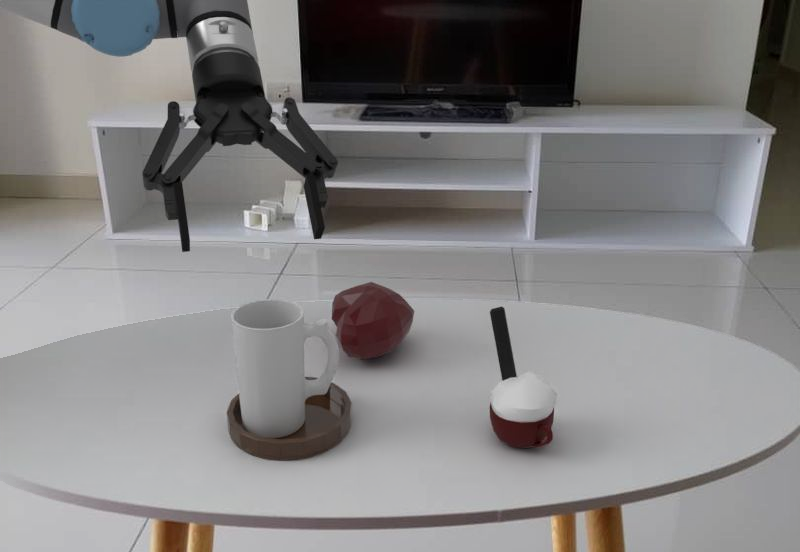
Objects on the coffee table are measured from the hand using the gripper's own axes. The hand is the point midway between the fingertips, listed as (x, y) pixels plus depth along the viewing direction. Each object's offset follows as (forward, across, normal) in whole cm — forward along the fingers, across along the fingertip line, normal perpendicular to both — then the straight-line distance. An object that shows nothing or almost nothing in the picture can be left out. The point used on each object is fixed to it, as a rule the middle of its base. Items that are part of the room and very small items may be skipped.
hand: (254, 240), depth 77 cm
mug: (+18, +1, +5) cm, 19 cm away
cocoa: (+25, +22, -1) cm, 33 cm away
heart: (+9, +14, +15) cm, 22 cm away
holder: (+18, +1, +6) cm, 19 cm away
